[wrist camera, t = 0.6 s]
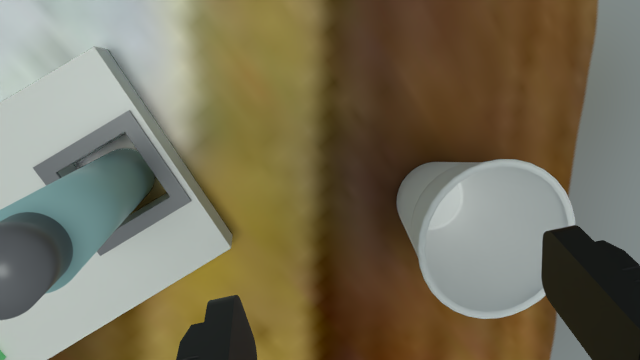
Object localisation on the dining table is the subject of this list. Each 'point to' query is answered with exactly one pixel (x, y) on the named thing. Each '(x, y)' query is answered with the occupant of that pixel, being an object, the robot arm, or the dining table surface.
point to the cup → (482, 231)
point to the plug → (65, 226)
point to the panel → (134, 232)
